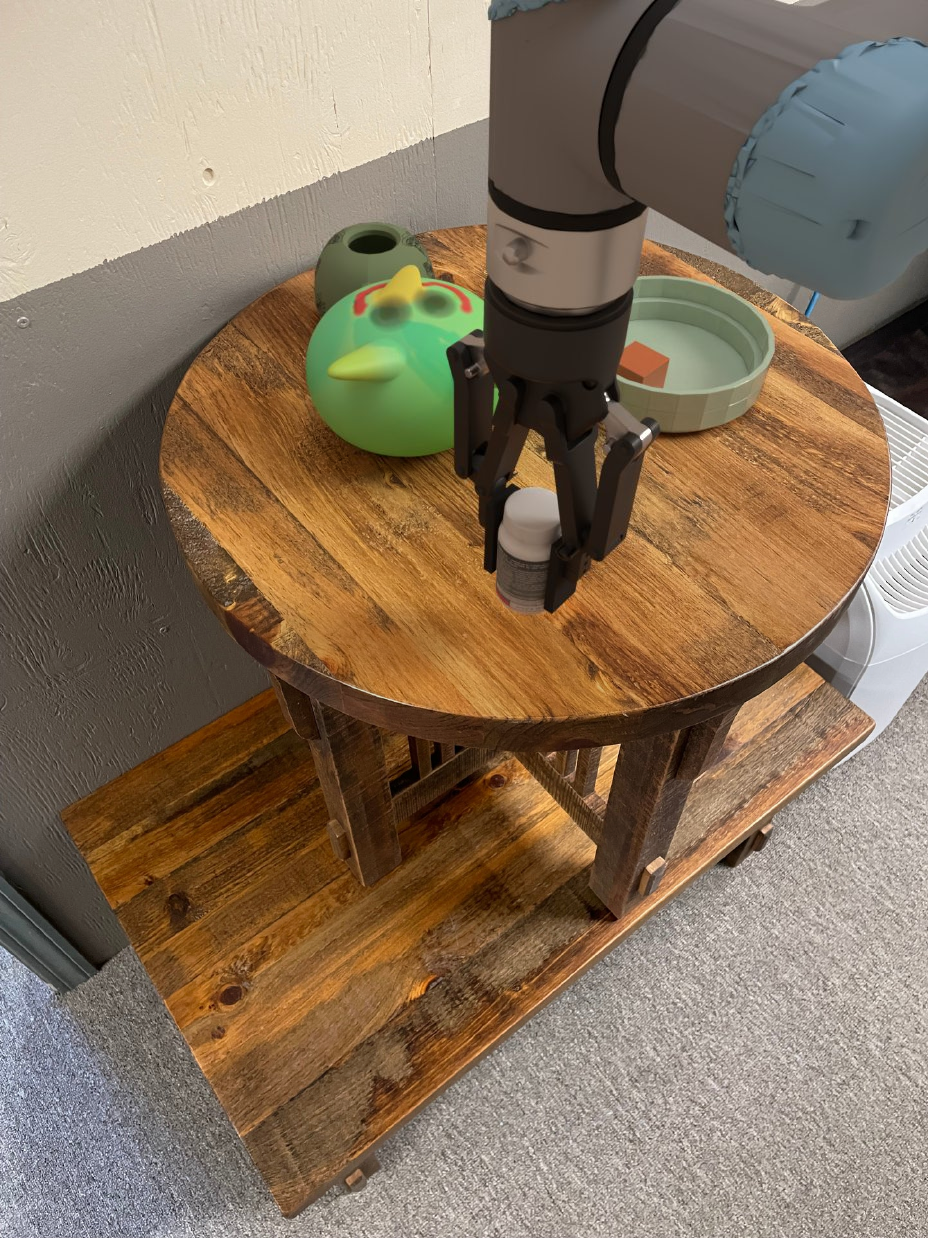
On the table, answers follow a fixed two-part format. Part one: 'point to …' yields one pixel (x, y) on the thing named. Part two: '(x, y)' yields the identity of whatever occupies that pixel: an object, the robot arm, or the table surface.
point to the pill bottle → (526, 548)
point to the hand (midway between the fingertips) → (529, 579)
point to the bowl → (697, 353)
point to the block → (643, 365)
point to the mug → (365, 260)
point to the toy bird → (392, 363)
